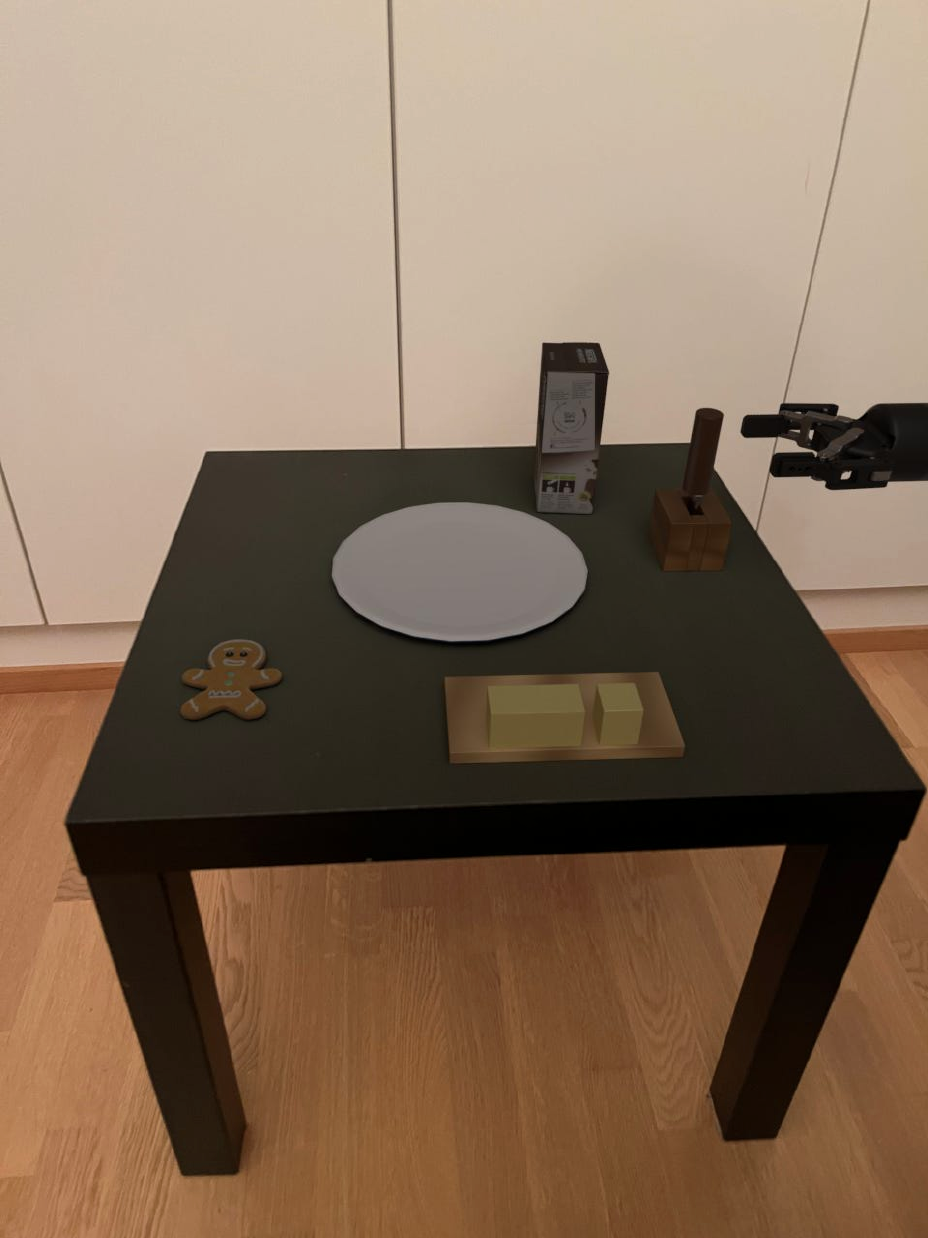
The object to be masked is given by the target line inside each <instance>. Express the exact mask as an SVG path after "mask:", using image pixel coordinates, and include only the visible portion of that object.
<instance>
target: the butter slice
mask: <svg viewBox="0 0 928 1238" xmlns="http://www.w3.org/2000/svg"><path fill="white" fill-rule="evenodd" d="M643 711H644V710H643V706H642V703H641V700H640V697H639V694H638V691H637V688H636V685H635V683H606V684H597V686H596V693H595V701H594V709H593V716H592V718H593V722H594V726H595V730H596V734H597V738H598V742H599V745H619V744H638V740H639V734H640V728H641V722H642V717H643Z"/></svg>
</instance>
